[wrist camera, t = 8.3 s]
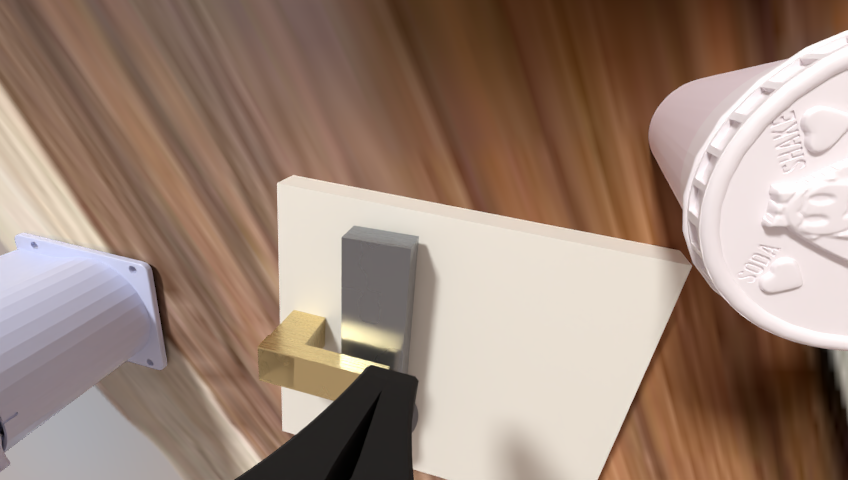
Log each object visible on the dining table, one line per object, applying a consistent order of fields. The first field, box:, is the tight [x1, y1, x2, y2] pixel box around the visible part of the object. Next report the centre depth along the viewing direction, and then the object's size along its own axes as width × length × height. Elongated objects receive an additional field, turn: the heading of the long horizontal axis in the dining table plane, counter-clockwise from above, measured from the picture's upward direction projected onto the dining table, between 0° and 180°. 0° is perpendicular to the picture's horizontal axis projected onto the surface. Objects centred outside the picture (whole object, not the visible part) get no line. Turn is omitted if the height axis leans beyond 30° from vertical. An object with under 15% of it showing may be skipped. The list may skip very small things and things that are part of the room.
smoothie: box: [649, 30, 848, 351], centre depth 10 cm, size 6×6×14 cm
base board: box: [277, 175, 692, 480], centre depth 22 cm, size 18×16×2 cm
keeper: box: [258, 310, 390, 401], centre depth 21 cm, size 6×2×3 cm, turn 81°
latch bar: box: [341, 226, 419, 374], centre depth 20 cm, size 12×3×2 cm, turn 173°
